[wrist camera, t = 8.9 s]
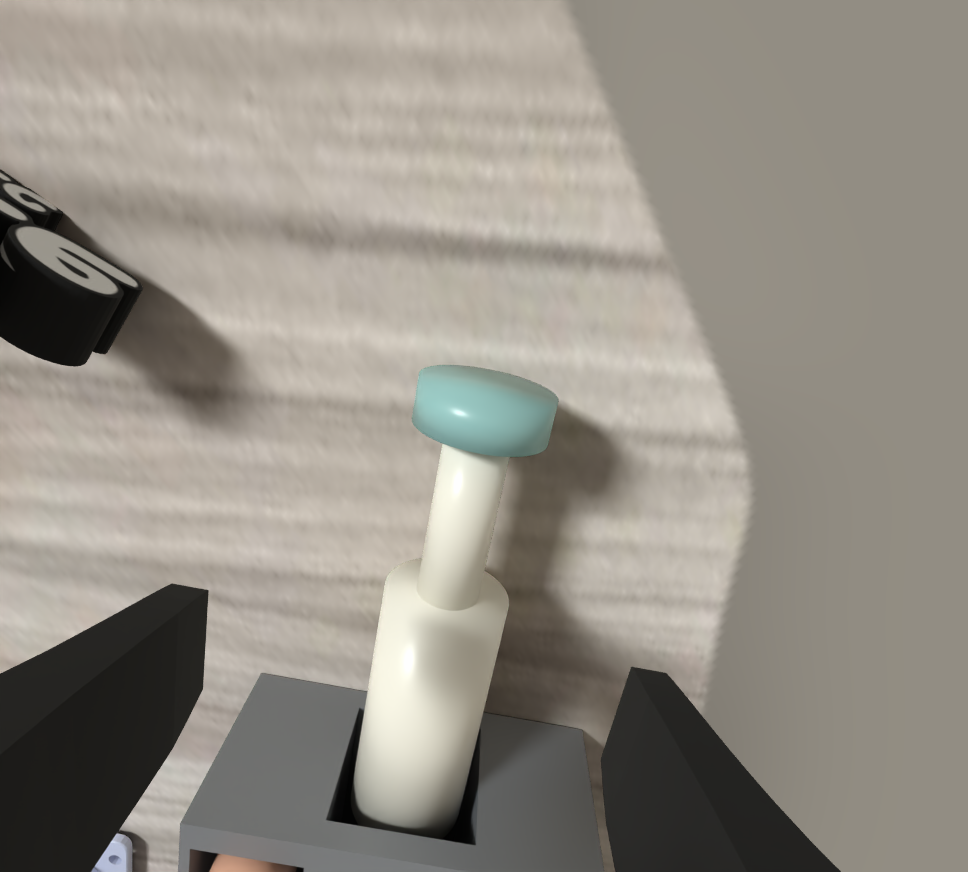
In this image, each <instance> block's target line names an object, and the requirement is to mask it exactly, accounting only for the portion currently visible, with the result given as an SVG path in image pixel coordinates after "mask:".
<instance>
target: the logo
mask: <svg viewBox="0 0 968 872" xmlns="http://www.w3.org/2000/svg"><path fill="white" fill-rule="evenodd" d="M62 214H63V212H62V211H61V210H59V209H58V208H56V207H55V206H54V205H52V204H51V203H49V202H48V201H47V200H45V199H44V198H42V197H41V196H39V195H38V194H37V193H35V192H34V191H32V190H31V189H29V188H26V187H24V186H22V185H20V184H18V183H17V182H16V181H15V180H14V179H13V178H11V177H10V176H9V175H7V174H6V173H4V172H2V171H1V170H0V337H2V338H3V339H5V340H6V341H8V342H9V343H11V344H12V345H14V346H16V347H17V348H19V349H21V350H23V351H25V352H27V353H29V354H31V355H34V356H36V357H38V358H41V359H44V360H47V361H50V362H53V363H57V364H61V365H66V366H81V365H84V364H85V363H86V362H87V360H88V359H89V357H90V355H91V353H92V351H93V352H95V353H99V354H106V353H107V352H108V350H109V349H110V347H111V345H112V343H113V341H114V340H115V338H116V336H117V334H118V332H119V331H120V329H121V327H122V325H123V324H124V322H125V320H126V318H127V316H128V315H129V313H130V311H131V309H132V307H133V306H134V304H135V302H136V300H137V298H138V297H139V295H140V293H141V291H142V289H143V287H142V285H141V284H140V282H139V281H138V280H137V279H136V278H134V277H133V276H132V275H130V274H129V273H127V272H126V271H124V270H122V269H121V268H119V267H118V266H116V265H114V264H113V263H111V262H109V261H108V260H106V259H104V258H103V257H101V256H99V255H98V254H96V253H94V252H92V251H91V250H89V249H87V248H85V247H84V246H82V245H80V244H78V243H77V242H75V241H73V240H71V239H69V238H67V237H65V236H63V235H61V234H59V233H57V232H54V230H55V228H56V226H57V224H58V222H59V220H60V218H61V216H62Z"/></svg>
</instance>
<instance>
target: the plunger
mask: <svg viewBox="0 0 968 872" xmlns="http://www.w3.org/2000/svg"><path fill="white" fill-rule="evenodd" d="M296 870H297V867H296V866H290V865H284V864H278V863H272V862H266V861H260V860H254V859H248V858H242V857H236V856H230V855H224V854H218V853H217V856H216V858H215V860H214V862H213V864H212V867H211V869H210V871H209V872H296Z"/></svg>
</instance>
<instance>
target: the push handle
mask: <svg viewBox="0 0 968 872" xmlns="http://www.w3.org/2000/svg"><path fill="white" fill-rule="evenodd" d="M557 405H558V397H557V396H556V395H555V394H554V393H553V392H552V391H550V390H549V389H547V388H545V387H543V386H541V385H539V384H537V383H535V382H532V381H530V380H527V379H524V378H521V377H518V376H514V375H511V374H507V373H503V372H499V371H494V370H489V369H484V368H477V367H470V366H459V365H437V366H430V367H427V368H424V369H422V370H421V371H420V372H419V378H418V384H417V390H416V396H415V402H414V408H413V415H412V422H413V424H414V426H415V427H416V428H417V429H418V430H419V431H420V432H422V433H423V434H425V435H426V436H428V437H430V438H432V439H434V440H436V441H438V442H440V443H443V445H442V450H441V456H440V461H439V467H438V472H437V478H436V483H435V489H434V494H433V500H432V505H431V511H430V516H429V522H428V527H427V533H426V538H425V544H424V549H423V555H422V558H420V559H415V560H411V561H408V562H405V563H403V564H401V565H399V566H397V567H396V568H394V569H393V570H392V571H391V572H390V574H389V575H388V576H387V579H386V582H385V587H384V593H383V600H382V606H381V612H380V618H379V624H378V630H377V637H376V643H375V649H374V655H373V661H372V667H371V674H370V680H369V686H368V692H367V698H366V704H365V711H364V717H363V723H362V729H361V735H360V741H359V748H358V754H357V760H356V766H355V772H354V778H353V785H352V791H351V808H352V812H353V815H354V817H355V820H356V821H357V823H358V825H359V826H363V827H369V828H375V829H381V830H387V831H392V832H398V833H404V834H410V835H416V836H422V837H428V838H434V839H440V840H441V839H443V838H444V837H445V836H446V835H447V834H448V833H449V832H450V831H451V829H452V828H453V826H454V825H455V823H456V821H457V818H458V815H459V811H460V807H461V803H462V799H463V795H464V790H465V786H466V782H467V778H468V774H469V770H470V766H471V761H472V757H473V753H474V749H475V745H476V741H477V737H478V732H479V728H480V724H481V720H482V716H483V712H484V708H485V703H486V699H487V695H488V691H489V687H490V683H491V679H492V674H493V670H494V666H495V662H496V658H497V654H498V650H499V646H500V641H501V637H502V633H503V629H504V625H505V621H506V617H507V612H508V608H509V598H508V595H507V592H506V590H505V589H504V587H503V586H502V585H501V583H500V582H499V581H498V580H497V579H495V578H494V577H493V576H492V575H490V574H489V573H487V572H486V571H484V570H485V566H486V561H487V557H488V552H489V548H490V543H491V539H492V534H493V530H494V525H495V521H496V516H497V512H498V507H499V503H500V498H501V494H502V489H503V484H504V480H505V475H506V471H507V466H508V462H509V457H524V456H531V455H535V454H538V453H541V452H542V451H544V450H545V449H546V448H547V446H548V443H549V438H550V434H551V430H552V426H553V422H554V418H555V414H556V409H557Z"/></svg>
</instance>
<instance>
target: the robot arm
mask: <svg viewBox="0 0 968 872" xmlns="http://www.w3.org/2000/svg"><path fill="white" fill-rule="evenodd" d="M207 607H208V590H204V589H199V588H193V587H188V586H182V585H177V584H170V585H168V586H166V587H164V588H162V589H160V590H158V591H156V592H155V593H153V594H151V595H149V596H147V597H145V598H143V599H142V600H140V601H138V602H136V603H134V604H133V605H131V606H129V607H127V608H125V609H124V610H122V611H120V612H118V613H116V614H114V615H113V616H111V617H109V618H107V619H105V620H104V621H102V622H100V623H98V624H96V625H94V626H92V627H91V628H89V629H87V630H85V631H83V632H81V633H79V634H78V635H76V636H74V637H72V638H70V639H68V640H66V641H65V642H63V643H61V644H59V645H57V646H55V647H53V648H51V649H49V650H48V651H46V652H44V653H42V654H40V655H37V656H35V657H33V658H31V659H29V660H27V661H25V662H23V663H21V664H19V665H17V666H15V667H13V668H11V669H9V670H7V671H5V672H3V673H1V674H0V872H132V842H131V840H130V839H129V837H127V836H125V835H123V834H118V833H117V832H118V831H119V829H120V828H121V826H122V825H123V823H124V822H125V820H126V819H127V817H128V816H129V814H130V813H131V811H132V810H133V808H134V807H135V805H136V804H137V802H138V801H139V799H140V798H141V796H142V795H143V793H144V792H145V790H146V789H147V787H148V786H149V784H150V783H151V781H152V779H153V778H154V776H155V775H156V773H157V772H158V770H159V769H160V767H161V766H162V764H163V763H164V761H165V760H166V758H167V756H168V755H169V753H170V752H171V750H172V749H173V747H174V745H175V743H176V741H177V739H178V737H179V736H180V734H181V732H182V730H183V728H184V726H185V724H186V722H187V720H188V718H189V716H190V714H191V712H192V710H193V708H194V706H195V704H196V702H197V700H198V698H199V696H200V694H201V692H202V690H203V677H204V659H205V642H206V624H207ZM601 768H602V782H603V795H604V806H605V817H606V825H607V830H608V836H609V841H610V846H611V851H612V856H613V861H614V866H615V871H616V872H841V871H840V870H839V869H838V868H837V867H835V865H833V864H832V863H831V861H830V860H829V859H827V857H826V856H825V855H824V854H823V853H822V852H821V851H820V850H819V849H818V848H817V847H816V846H815V845H814V844H813V843H812V842H811V841H810V840H809V839H808V838H807V837H806V836H805V834H803V832H802V831H801V830H800V829H799V828H798V827H797V826H796V825H795V824H794V823H793V822H792V820H791V819H789V817H788V816H787V815H786V814H785V813H784V812H783V811H782V810H781V809H780V807H779V806H778V805H777V804H776V803H775V802H774V801H773V800H772V799H771V798H770V796H769V795H768V794H767V793H766V792H765V791H764V790H763V788H762V787H761V786H760V785H759V784H758V783H757V782H756V780H755V779H754V778H753V777H752V776H751V775H750V773H749V772H748V771H747V770H746V769H745V768H744V766H743V765H742V764H741V763H740V762H739V760H738V759H737V758H736V757H735V756H734V755H733V753H732V752H731V751H730V750H729V749H728V747H727V746H726V745H725V744H724V743H723V741H722V740H721V739H720V738H719V736H718V735H717V734H716V733H715V732H714V730H713V729H712V728H711V727H710V726H709V724H708V723H707V722H706V720H705V719H704V718H703V717H702V715H701V714H700V713H699V712H698V711H697V709H696V708H695V707H694V706H693V704H692V703H691V702H690V701H689V699H688V698H687V697H686V696H685V695H684V693H683V692H682V691H681V690H680V688H679V687H678V686H677V685H676V684H675V682H674V681H673V680H672V679H671V678H670V677H669V676H668V674H667V673H663V672H657V671H652V670H646V669H641V668H635V667H631V669H630V672H629V675H628V679H627V682H626V685H625V688H624V691H623V694H622V697H621V700H620V703H619V706H618V709H617V712H616V715H615V718H614V721H613V724H612V727H611V730H610V733H609V736H608V739H607V742H606V745H605V748H604V751H603V754H602V757H601Z"/></svg>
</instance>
